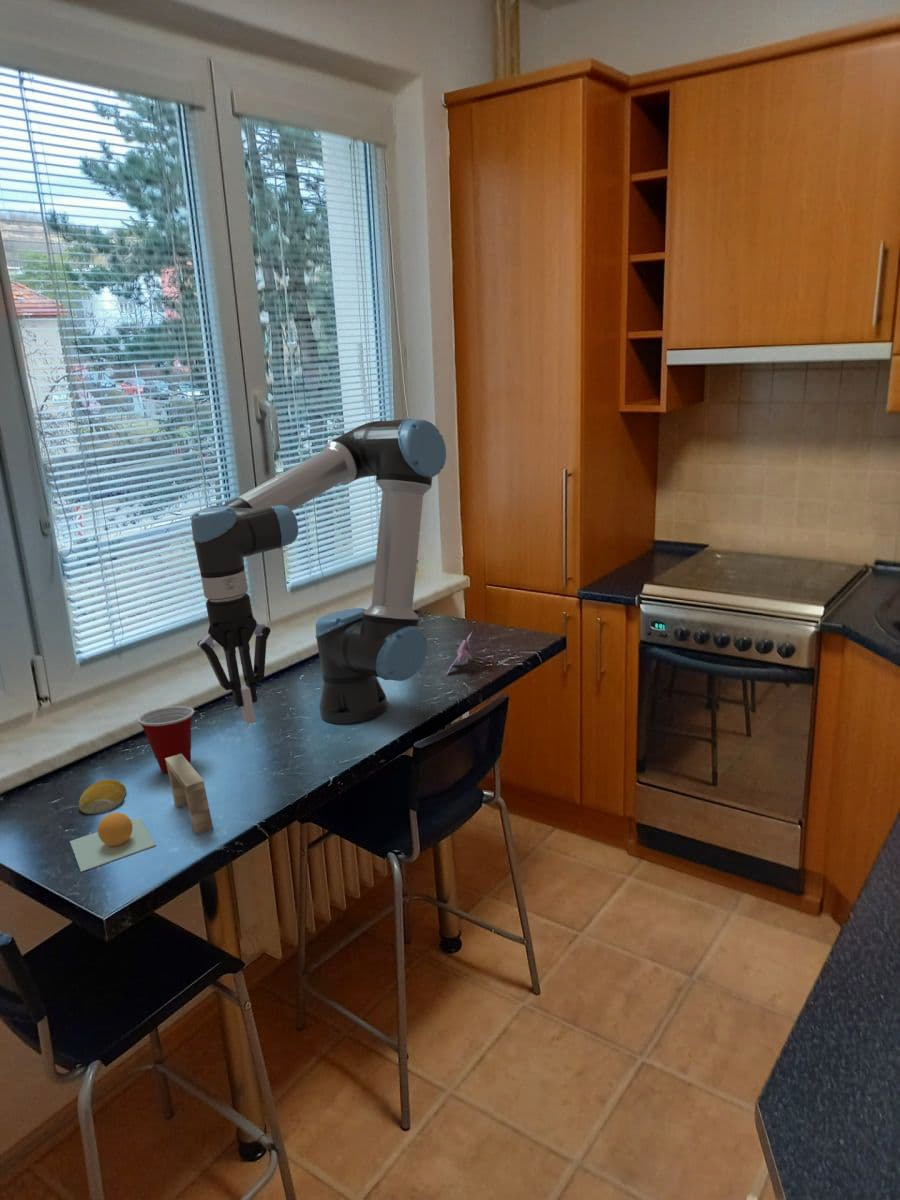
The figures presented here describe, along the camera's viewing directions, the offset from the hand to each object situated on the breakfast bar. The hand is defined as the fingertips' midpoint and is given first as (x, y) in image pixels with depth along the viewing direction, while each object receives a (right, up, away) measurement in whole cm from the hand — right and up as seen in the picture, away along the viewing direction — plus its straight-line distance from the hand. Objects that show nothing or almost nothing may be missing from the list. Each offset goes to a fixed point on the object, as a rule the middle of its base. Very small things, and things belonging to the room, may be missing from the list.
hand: (249, 720), depth 157 cm
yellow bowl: (-29, -17, +7) cm, 34 cm away
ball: (-21, -17, -10) cm, 29 cm away
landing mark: (-21, -20, -9) cm, 31 cm away
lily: (+40, +5, +56) cm, 69 cm away
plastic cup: (-19, -12, +18) cm, 29 cm away
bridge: (-9, -17, -2) cm, 19 cm away
